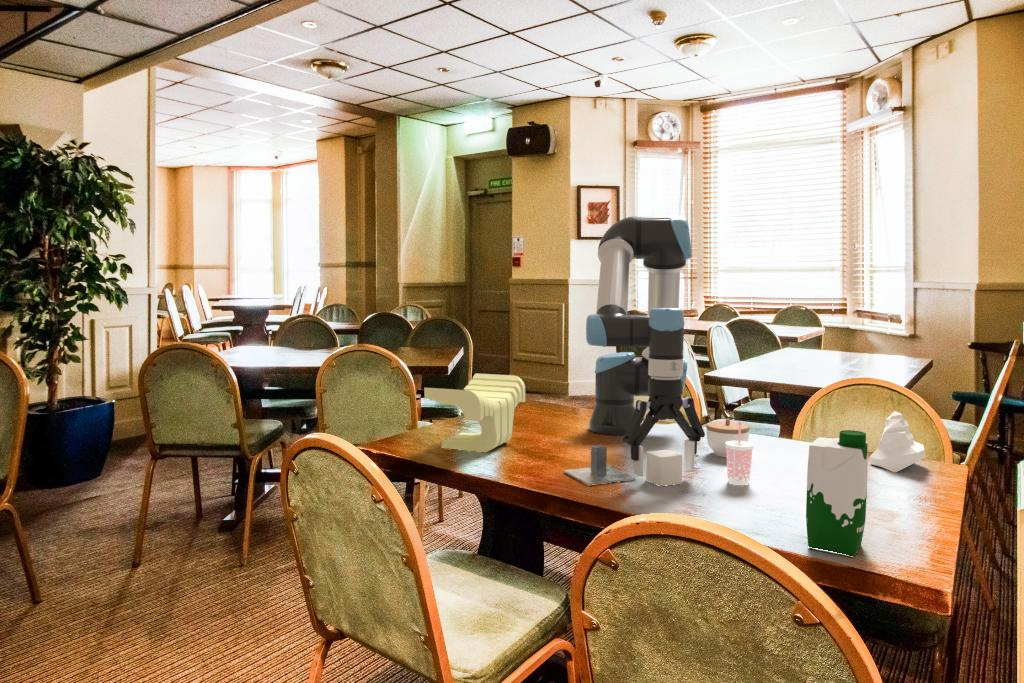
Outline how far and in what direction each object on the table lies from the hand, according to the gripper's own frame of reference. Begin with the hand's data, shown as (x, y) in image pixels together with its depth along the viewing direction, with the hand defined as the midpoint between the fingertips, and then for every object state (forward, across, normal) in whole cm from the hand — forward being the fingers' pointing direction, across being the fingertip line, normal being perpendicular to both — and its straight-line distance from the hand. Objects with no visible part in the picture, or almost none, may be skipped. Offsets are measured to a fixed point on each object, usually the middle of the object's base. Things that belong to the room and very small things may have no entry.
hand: (664, 471), depth 160 cm
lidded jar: (+2, +30, +15) cm, 34 cm away
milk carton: (+3, +4, -44) cm, 44 cm away
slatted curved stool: (+2, -26, +50) cm, 56 cm away
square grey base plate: (+2, -11, +10) cm, 15 cm away
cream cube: (+2, 0, 0) cm, 3 cm away
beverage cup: (+3, +15, -7) cm, 17 cm away
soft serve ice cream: (+2, +60, -11) cm, 61 cm away
